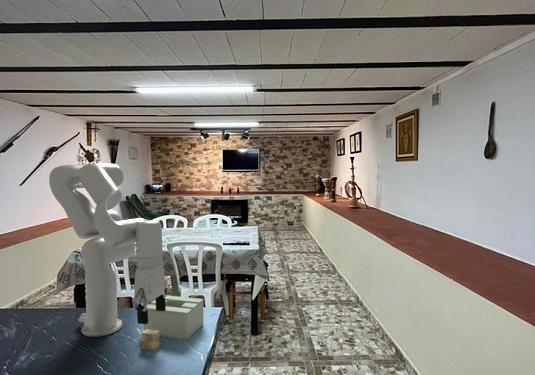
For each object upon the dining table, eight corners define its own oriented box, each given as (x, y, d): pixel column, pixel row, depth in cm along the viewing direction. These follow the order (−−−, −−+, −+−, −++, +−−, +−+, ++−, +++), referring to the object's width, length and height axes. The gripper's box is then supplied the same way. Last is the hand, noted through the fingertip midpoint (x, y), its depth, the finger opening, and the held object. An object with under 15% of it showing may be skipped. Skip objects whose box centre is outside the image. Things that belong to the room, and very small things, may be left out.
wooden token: (141, 348, 109) (141, 332, 108) (146, 344, 111) (146, 329, 111) (155, 350, 108) (154, 334, 107) (159, 346, 110) (159, 330, 110)
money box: (143, 334, 118) (143, 307, 117) (162, 319, 129) (162, 294, 129) (187, 340, 114) (187, 312, 113) (203, 323, 126) (203, 299, 125)
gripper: (154, 254, 117) (156, 305, 117) (120, 268, 100) (123, 328, 101) (175, 255, 115) (177, 307, 116) (144, 269, 98) (147, 330, 99)
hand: (152, 316), depth 108 cm, fingers open, 9 cm apart
